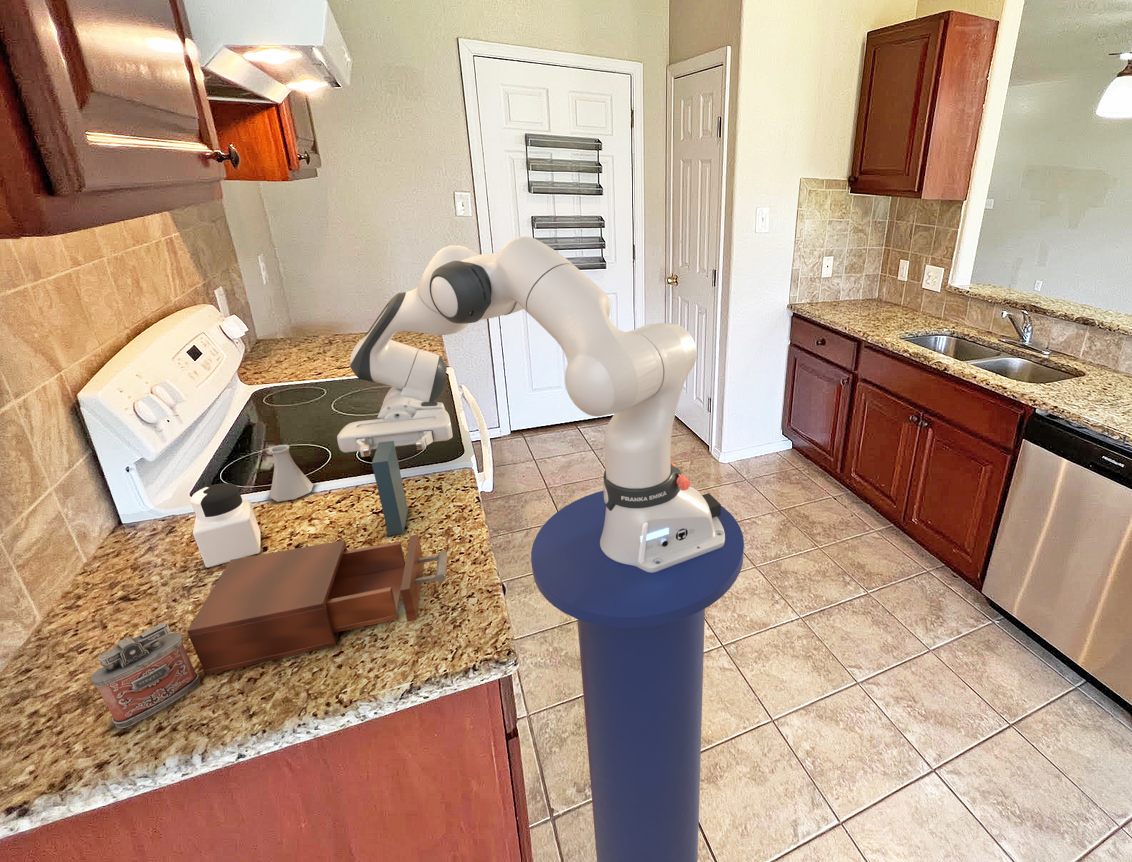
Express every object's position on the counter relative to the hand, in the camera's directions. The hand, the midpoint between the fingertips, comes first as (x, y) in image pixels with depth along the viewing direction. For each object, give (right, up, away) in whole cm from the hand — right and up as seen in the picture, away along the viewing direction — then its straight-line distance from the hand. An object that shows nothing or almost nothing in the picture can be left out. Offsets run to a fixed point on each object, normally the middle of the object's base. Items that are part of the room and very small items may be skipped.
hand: (393, 449), depth 109 cm
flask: (-23, -9, +5) cm, 25 cm away
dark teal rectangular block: (+3, -13, -3) cm, 14 cm away
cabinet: (0, -23, -26) cm, 35 cm away
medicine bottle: (-20, -16, -12) cm, 29 cm away
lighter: (-7, -28, -39) cm, 48 cm away
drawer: (+12, -21, -22) cm, 32 cm away
